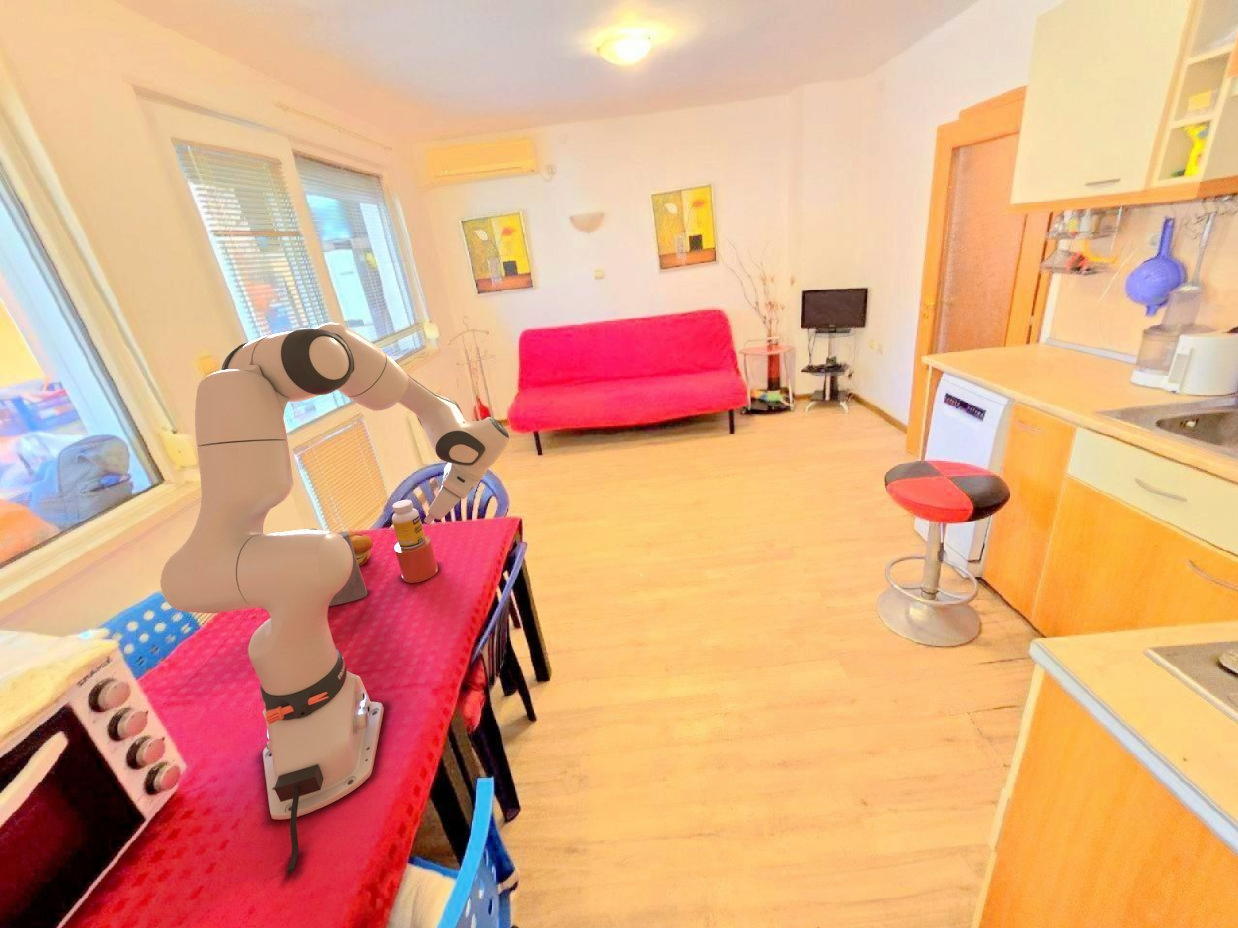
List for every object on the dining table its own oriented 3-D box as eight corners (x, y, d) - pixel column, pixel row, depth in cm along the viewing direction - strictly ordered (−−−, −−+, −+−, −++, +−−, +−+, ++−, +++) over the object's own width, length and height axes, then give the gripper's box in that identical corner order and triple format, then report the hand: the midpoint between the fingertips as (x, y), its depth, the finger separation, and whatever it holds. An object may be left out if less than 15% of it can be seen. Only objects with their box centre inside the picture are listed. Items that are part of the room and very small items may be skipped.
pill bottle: (416, 550, 128) (405, 509, 124) (394, 549, 130) (382, 509, 125) (430, 537, 134) (420, 498, 130) (408, 536, 135) (398, 497, 131)
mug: (440, 575, 133) (433, 545, 130) (403, 586, 129) (395, 556, 126) (434, 555, 143) (427, 527, 140) (400, 566, 139) (392, 537, 136)
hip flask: (368, 590, 129) (347, 521, 122) (365, 599, 125) (342, 529, 118) (301, 603, 126) (275, 533, 119) (295, 612, 123) (268, 541, 115)
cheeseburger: (330, 560, 145) (329, 528, 142) (371, 557, 150) (371, 525, 147) (329, 577, 136) (329, 542, 134) (373, 572, 141) (374, 539, 139)
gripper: (459, 452, 135) (430, 489, 138) (443, 482, 116) (409, 524, 119) (479, 465, 137) (450, 502, 140) (466, 497, 118) (433, 539, 121)
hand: (431, 513), depth 129 cm, fingers open, 8 cm apart
